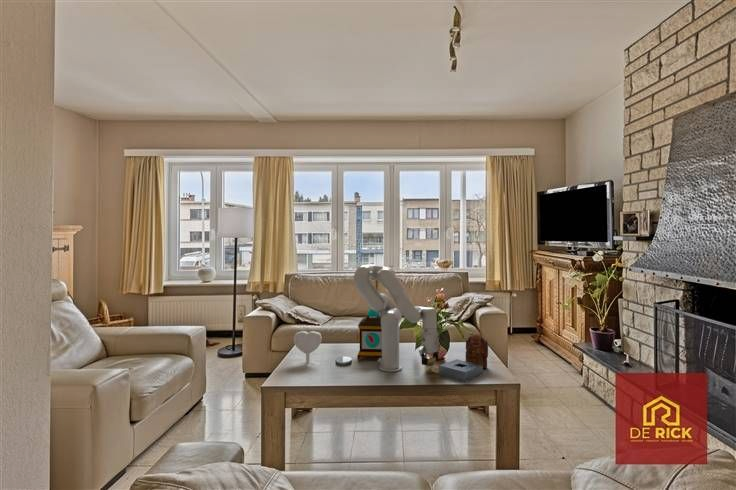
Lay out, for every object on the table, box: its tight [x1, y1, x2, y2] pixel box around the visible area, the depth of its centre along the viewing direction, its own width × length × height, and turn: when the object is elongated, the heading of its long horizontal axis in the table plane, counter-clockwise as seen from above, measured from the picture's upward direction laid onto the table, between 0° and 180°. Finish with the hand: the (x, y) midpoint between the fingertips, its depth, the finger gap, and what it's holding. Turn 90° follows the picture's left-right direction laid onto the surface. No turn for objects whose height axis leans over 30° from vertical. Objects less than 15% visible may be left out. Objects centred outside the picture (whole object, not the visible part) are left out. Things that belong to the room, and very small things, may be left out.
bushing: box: [425, 355, 437, 374], centre depth 224 cm, size 7×7×8 cm
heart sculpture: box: [293, 330, 323, 366], centre depth 240 cm, size 16×5×18 cm, turn 87°
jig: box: [438, 358, 484, 383], centre depth 219 cm, size 16×16×5 cm
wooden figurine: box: [465, 334, 489, 369], centre depth 231 cm, size 12×6×18 cm, turn 79°
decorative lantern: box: [356, 307, 382, 362], centre depth 252 cm, size 20×20×30 cm
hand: (430, 362), depth 224 cm, fingers open, 9 cm apart
